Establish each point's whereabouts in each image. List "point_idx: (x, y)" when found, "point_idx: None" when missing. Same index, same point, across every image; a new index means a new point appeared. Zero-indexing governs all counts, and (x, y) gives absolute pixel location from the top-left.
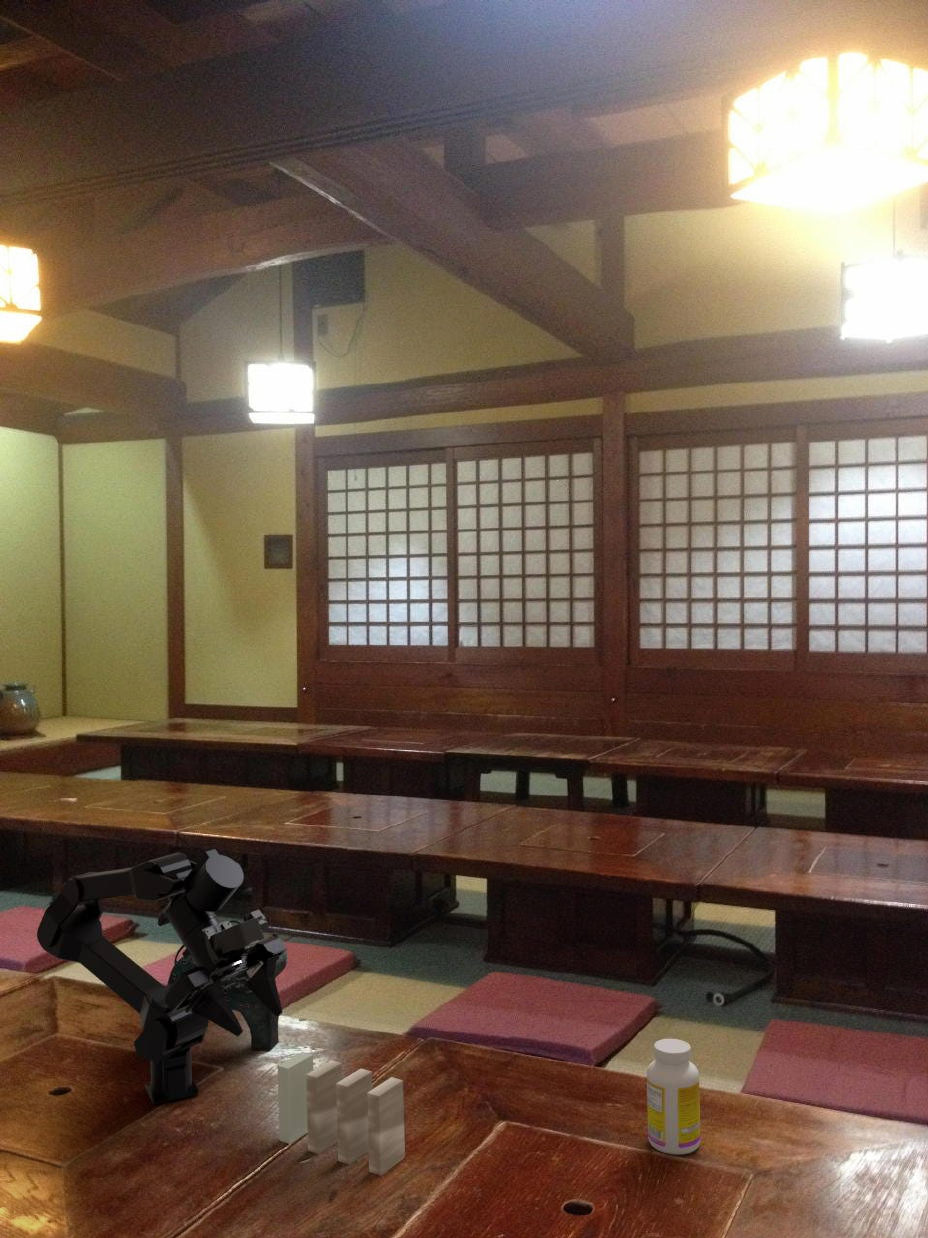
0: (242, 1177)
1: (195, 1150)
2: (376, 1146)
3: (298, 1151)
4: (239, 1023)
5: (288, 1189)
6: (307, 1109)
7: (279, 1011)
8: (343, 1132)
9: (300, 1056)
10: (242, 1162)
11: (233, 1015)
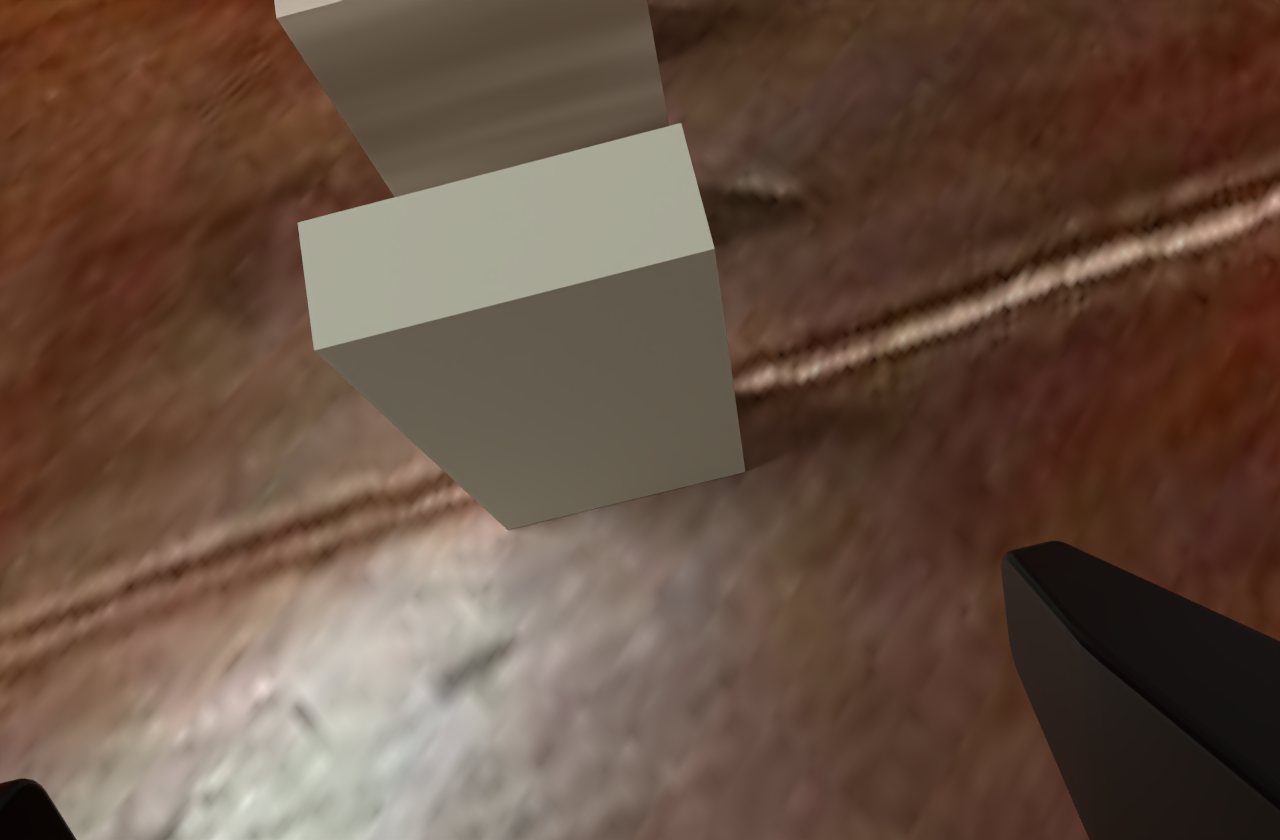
0: (1152, 268)
1: None
2: None
3: (735, 290)
4: (1064, 608)
5: (1006, 14)
6: (666, 111)
7: (18, 808)
8: None
9: (405, 274)
10: (1067, 412)
11: (1223, 705)
